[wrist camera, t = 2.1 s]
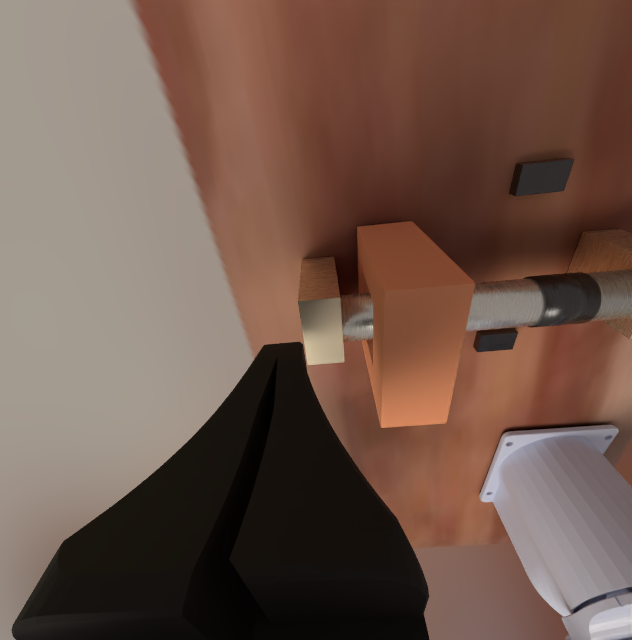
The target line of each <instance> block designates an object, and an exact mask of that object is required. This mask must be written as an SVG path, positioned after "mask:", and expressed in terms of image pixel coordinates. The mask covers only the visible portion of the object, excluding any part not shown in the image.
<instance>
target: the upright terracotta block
mask: <svg viewBox="0 0 632 640" xmlns="http://www.w3.org/2000/svg"><path fill="white" fill-rule="evenodd" d="M357 243H358V281H359V294H362V293H370V295H371V298H372V301H373V339H371V340H362V345H363V349H364V354H365V358H366V362H367V367H368V371H369V376H370V380H371V385H372V389H373V394H374V398H375V403H376V407H377V412H378V416H379V421H380V425H381V428H385V427H400V426H414V425H428V424H443V423H446V422H447V417H448V413H449V408H450V403H451V398H452V393H453V389H454V384H455V379H456V374H457V369H458V365H459V360H460V355H461V350H462V345H463V341H464V336H465V331H466V326H467V321H468V317H469V312H470V307H471V302H472V297H473V293H474V288H475V282H474V281H473V280H472V279H471V278H470V277H469V276H468V275H467V274H466V273H465V272H464V271H463V270H462V269H461V268H460V267H459V266H458V265H457V264H456V263H455V262H454V261H453V260H451V259H450V258H449V257H448V256H447V255H446V254H445V253H444V252H443V251H442V250H441V249H440V248H439V247H438V246H437V245H436V244H435V243H434V242H433V241H432V240H431V239H430V238H429V237H428V236H427V235H426V234H425V233H424V232H423V231H422V230H421V229H420V228H419V227H418V226H417V225H416V224H415V223H414V222H413V221H407V222H398V223H388V224H378V225H368V226H359V227H357Z"/></svg>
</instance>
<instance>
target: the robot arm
mask: <svg viewBox="0 0 632 640" xmlns="http://www.w3.org/2000/svg"><path fill="white" fill-rule="evenodd" d="M618 432H619V430H618V429H617V428H616V427H615V426H614V425H597V426H582V427H568V428H553V429H538V430H523V431H509V432H506V433H504V434H503V435H502V437H501V440H500V442H499V445H498V448H497V450H496V453H495V456H494V458H493V461H492V464H491V466H490V469H489V472H488V474H487V477H486V480H485V482H484V485H483V488H482V490H481V493H480V496H479V497H480V499H481V501H483V502H493V503H494V505H495V508H496V510H497V512H498V514H499V516H500V518H501V520H502V522H503V524H504V526H505V529H506V531H507V533H508V535H509V537H510V539H511V541H512V543H513V545H514V548H515V550H516V552H517V554H518V556H519V558H520V560H521V562H522V564H523V567H524V569H525V571H526V573H527V575H528V577H529V579H530V581H531V582H532V584H533V586H534V587H535V589H536V590H537V591H538V593H539V594H540V595H541V596H542V597H543V599H544V600H545V601H547V602H548V604H549V605H550V606H551V607H553V609H555V610H556V611H557V612H558V613H559V614H561V615H562V616H564V617H562V621H563V623H564V625H565V627H566V629H567V631H568V633H569V635H567V636H566V637H565V639H564V640H632V487H631V486H630V485H629V484H628V483H627V481H626V480H625V479H624V478H623V477H622V476H621V475H620V473H619V472H618V471H617V470H616V469H615V468H614V467H613V465H612V464H611V463H610V462H609V461H608V460H607V459H606V457H605V456H604V455H603V454H604V452H605V451H606V449H607V448H608V446H609V445H610V444H611V442H612V441H613V439H614V438H615V437H616V435H617V434H618ZM428 598H429V592H428V586H427V583H426V580H425V577H424V574H423V571H422V569H421V566H420V564H419V562H418V559H417V557H416V555H415V553H414V551H413V549H412V547H411V545H410V543H409V541H408V539H407V537H406V535H405V533H404V531H403V529H402V527H401V525H400V523H399V521H398V519H397V518H396V517H395V515H394V514H393V513H392V512H391V510H390V509H389V508H388V507H387V506H386V504H385V503H384V502H383V501H382V499H381V498H380V497H379V496H378V494H377V493H376V492H375V490H374V489H373V488H372V487H371V485H370V484H369V482H368V481H367V480H366V478H365V477H364V476H363V474H362V473H361V472H360V470H359V469H358V467H357V466H356V464H355V463H354V461H353V460H352V458H351V457H350V455H349V454H348V452H347V451H346V449H345V448H344V446H343V445H342V443H341V442H340V440H339V438H338V437H337V435H336V433H335V432H334V430H333V428H332V426H331V425H330V423H329V421H328V419H327V417H326V415H325V413H324V411H323V409H322V407H321V405H320V403H319V401H318V399H317V397H316V394H315V392H314V390H313V387H312V385H311V382H310V379H309V376H308V374H307V368H306V361H305V355H304V349H303V344H302V343H300V342H292V343H280V344H269V345H264V346H263V347H262V349H261V350H260V352H259V353H258V355H257V356H256V358H255V359H254V361H253V362H252V364H251V365H250V367H249V368H248V370H247V371H246V373H245V374H244V376H243V377H242V379H241V380H240V381H239V383H238V384H237V385H236V387H235V388H234V389H233V391H232V392H231V393H230V394H229V396H228V397H227V398H226V399H225V401H224V402H223V403H222V404H221V406H220V407H219V408H218V409H217V411H216V412H215V413H214V414H213V415H212V416H211V417H210V419H209V420H208V421H207V422H206V423H205V424H204V425H203V426H202V427H201V429H199V431H198V432H197V433H196V434H195V435H194V436H193V437H192V438H191V439H190V440H189V441H188V442H187V443H186V444H185V445H184V446H183V447H182V448H181V449H179V450H178V451H177V452H176V453H175V454H174V455H173V456H172V457H171V458H170V459H169V460H168V461H166V462H165V463H164V464H163V465H162V466H161V467H160V468H159V469H157V470H156V471H155V472H154V473H153V474H152V475H150V476H149V477H148V478H147V479H146V480H144V481H143V482H142V483H141V484H140V485H138V486H137V487H136V488H135V489H133V490H132V491H131V492H130V493H128V494H127V495H126V496H125V497H123V498H122V499H121V500H119V501H118V502H117V503H116V504H114V505H113V506H112V507H110V508H109V509H107V510H106V511H105V512H103V513H102V514H101V515H99V516H98V517H96V518H95V519H94V520H92V521H91V522H90V523H88V524H87V525H86V526H84V527H83V528H81V529H80V530H79V531H77V532H76V533H75V534H73V535H72V536H70V537H69V538H68V539H66V540H65V541H64V542H63V543H62V544H61V546H60V547H59V549H58V550H57V552H56V554H55V555H54V557H53V559H52V560H51V562H50V564H49V565H48V567H47V569H46V570H45V572H44V574H43V575H42V577H41V579H40V581H39V582H38V584H37V585H36V587H35V589H34V590H33V592H32V594H31V595H30V597H29V599H28V600H27V602H26V604H25V606H24V607H23V609H22V611H21V612H20V614H19V616H18V617H17V619H16V621H15V622H14V624H13V627H12V634H13V637H14V638H15V639H16V640H429V635H428V631H427V627H426V622H425V618H424V611H425V608H426V604H427V601H428Z"/></svg>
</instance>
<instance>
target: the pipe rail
mask: <svg viewBox="0 0 632 640" xmlns="http://www.w3.org/2000/svg"><path fill="white" fill-rule="evenodd" d="M573 162H574V159H569V158H561V159H552V160H543V161H534V162H525V163H516V167H515V171H514V175H513V179H512V184H511V188H510V192H509V194H511V195H514V196H520V195H530V194H540V193H549V192H559V191H564V189H565V186H566V183H567V180H568V177H569V174H570V171H571V168H572V165H573ZM298 305H299V311H300V318H301V324H302V331H303V337H304V344H305V350H306V357H307V363H308V365H315V364H328V363H340V362H344V347H343V342H347V341H359V340H371V339H373V301H372V298H371V295H370V293H362V294H351V295H340V292H339V286H338V279H337V273H336V266H335V260H334V256H333V257H323V258H313V259H303V260H302V262H301V273H300V284H299V296H298ZM596 320H602V321H604V322H605V323H606V324H608V325H609V326H611V327H612V328H614V329H615V330H617V331H618V332H620V333H621V334H623V335H624V336H626V337H627V338H629V339H632V233H630V232H627V231H624V230H621V229H608V230H598V231H588V232H582V235H581V238H580V240H579V243H578V246H577V248H576V251H575V253H574V256H573V259H572V261H571V264H570V266H569V269H568V272H567V273H564V274H553V275H542V276H531V277H525V278H523V279H514V280H503V281H492V282H482V283H475V288H474V293H473V297H472V302H471V307H470V312H469V317H468V321H467V326H466V331H477V333H476V338H475V342H474V346H473V347H474V348H475V350H476V351H477V352H484V351H497V350H509V349H513V346H514V343H515V340H516V337H517V334H518V332H517V331H516V330H515V329H514V328H513V327H525V326H527V327H542V326H554V325H566V324H578V323H586V322H588V321H596ZM466 331H465V332H466Z"/></svg>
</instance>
